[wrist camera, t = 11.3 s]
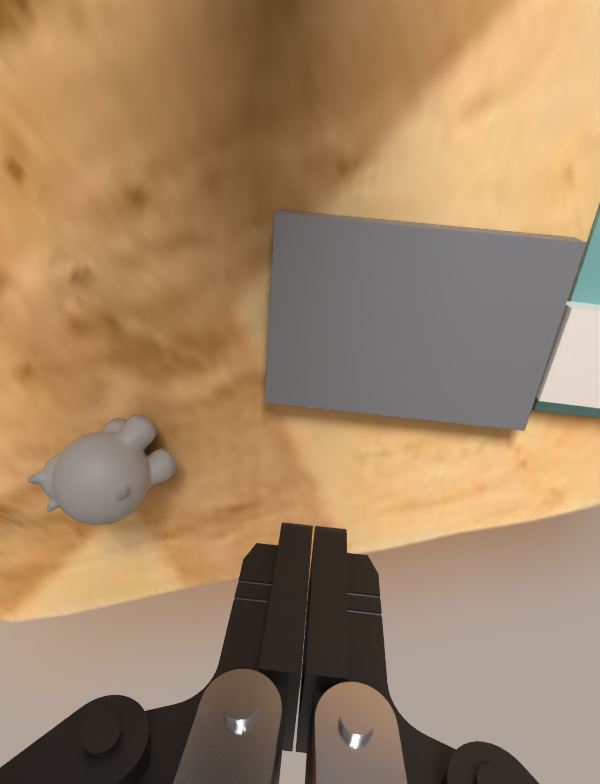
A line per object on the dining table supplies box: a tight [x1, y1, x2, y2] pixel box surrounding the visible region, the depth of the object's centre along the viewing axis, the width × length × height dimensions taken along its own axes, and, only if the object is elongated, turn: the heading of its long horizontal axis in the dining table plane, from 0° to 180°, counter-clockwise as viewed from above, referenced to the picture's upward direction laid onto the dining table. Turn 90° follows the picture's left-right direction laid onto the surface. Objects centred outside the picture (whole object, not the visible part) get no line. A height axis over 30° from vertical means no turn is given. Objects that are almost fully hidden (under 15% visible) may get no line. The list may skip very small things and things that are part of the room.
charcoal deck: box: [265, 210, 586, 431], centre depth 36 cm, size 14×20×2 cm
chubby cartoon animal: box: [28, 415, 177, 525], centre depth 41 cm, size 7×12×8 cm, turn 109°
